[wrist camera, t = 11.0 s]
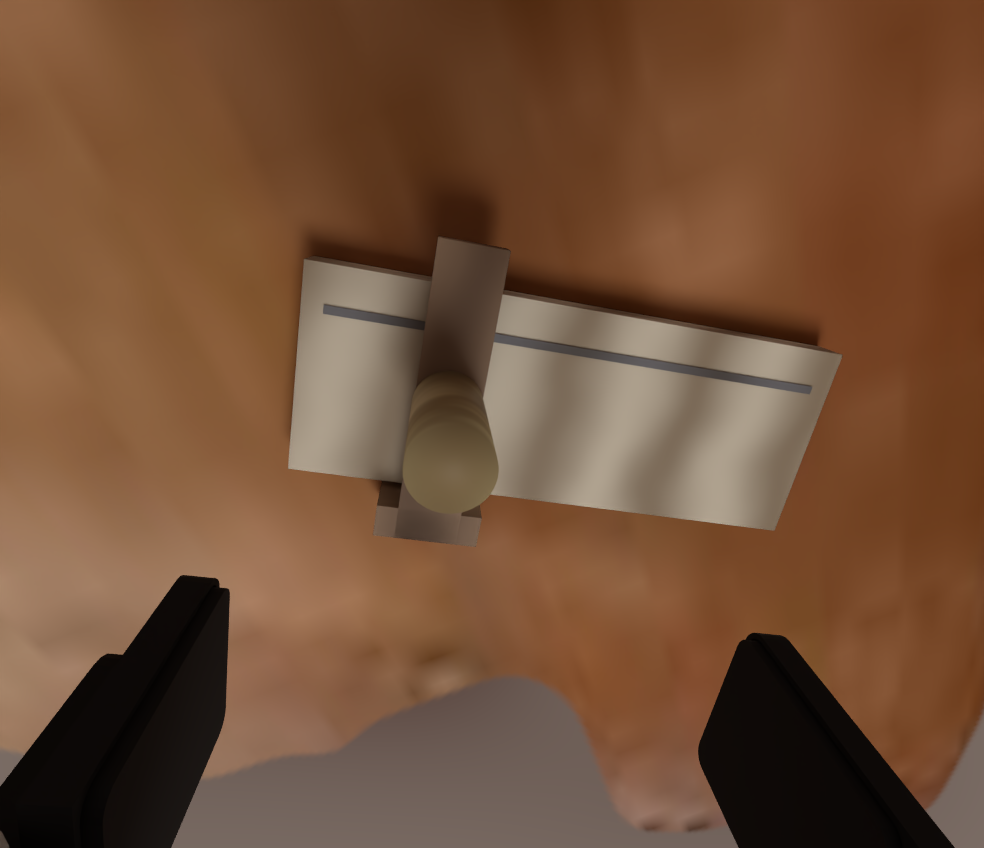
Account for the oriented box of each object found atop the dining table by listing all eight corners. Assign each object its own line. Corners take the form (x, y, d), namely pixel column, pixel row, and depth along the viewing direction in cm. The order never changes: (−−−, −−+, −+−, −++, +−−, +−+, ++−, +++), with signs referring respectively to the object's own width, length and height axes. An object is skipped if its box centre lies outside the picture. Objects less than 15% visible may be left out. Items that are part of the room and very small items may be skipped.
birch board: (818, 346, 31) (844, 355, 29) (755, 513, 34) (775, 531, 32) (313, 255, 27) (303, 259, 25) (297, 452, 30) (287, 469, 28)
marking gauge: (523, 250, 27) (570, 271, 17) (472, 514, 32) (486, 646, 22) (416, 229, 26) (403, 240, 17) (379, 502, 31) (352, 634, 21)
